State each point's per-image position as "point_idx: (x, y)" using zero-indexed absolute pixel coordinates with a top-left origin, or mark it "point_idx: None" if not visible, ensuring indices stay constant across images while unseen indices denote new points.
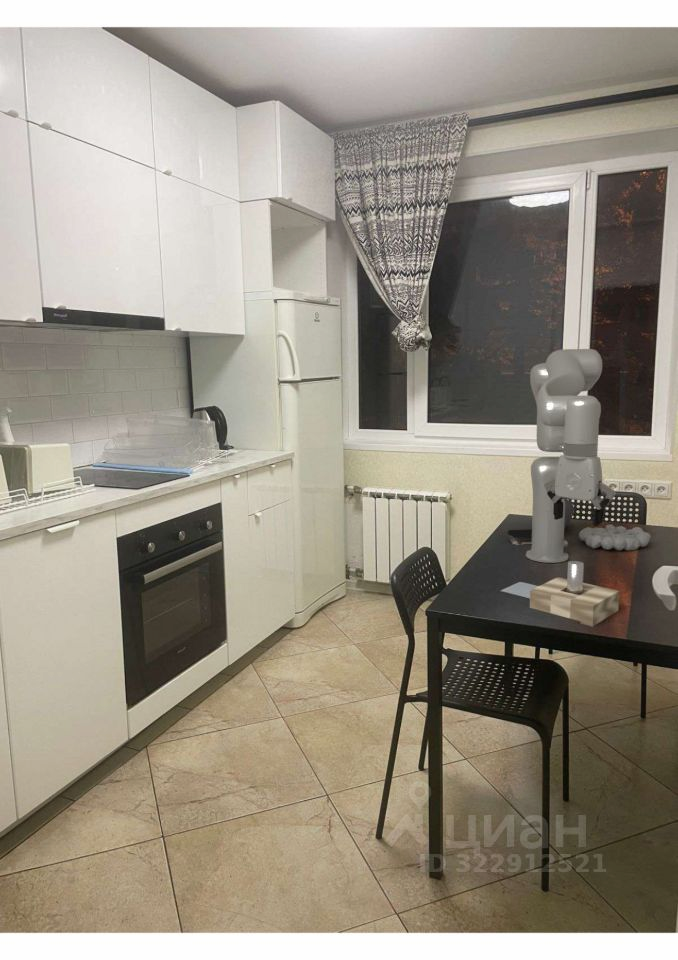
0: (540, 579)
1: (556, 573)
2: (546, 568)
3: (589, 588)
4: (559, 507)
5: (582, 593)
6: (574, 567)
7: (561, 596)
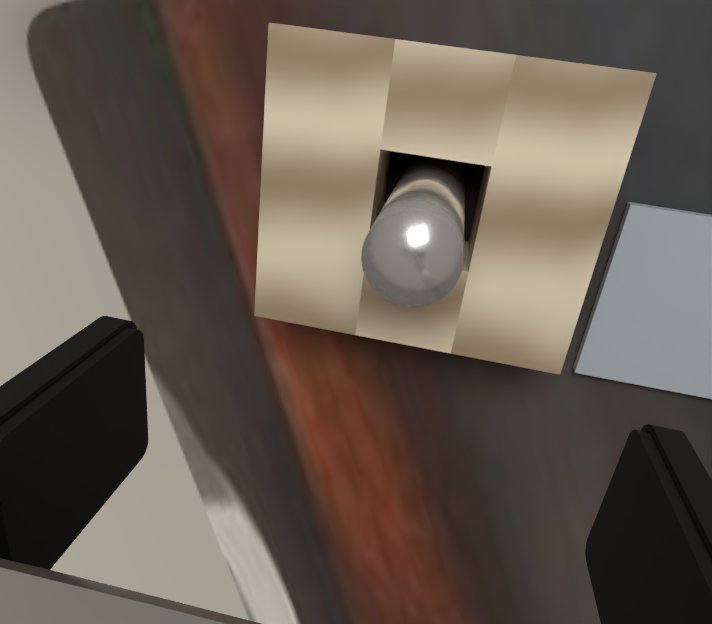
0: None
1: None
2: None
3: None
4: (666, 609)
5: None
6: (405, 205)
7: (458, 75)
